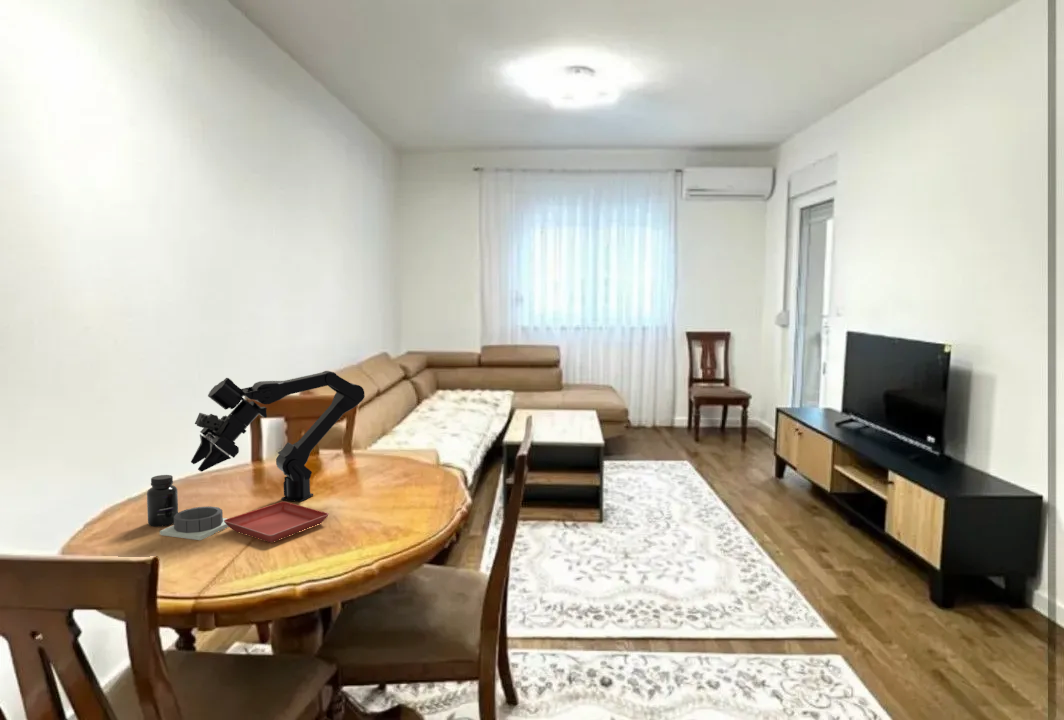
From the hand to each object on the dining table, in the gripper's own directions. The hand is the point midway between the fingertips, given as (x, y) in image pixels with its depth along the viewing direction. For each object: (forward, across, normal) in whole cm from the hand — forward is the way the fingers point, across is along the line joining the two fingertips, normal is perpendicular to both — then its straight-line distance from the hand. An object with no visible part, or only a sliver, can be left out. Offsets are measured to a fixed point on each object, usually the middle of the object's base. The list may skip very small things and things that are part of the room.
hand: (195, 466), depth 170 cm
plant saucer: (0, +21, +20) cm, 29 cm away
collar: (+11, +10, +8) cm, 17 cm away
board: (+11, +10, +8) cm, 17 cm away
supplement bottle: (+15, 0, +4) cm, 16 cm away
